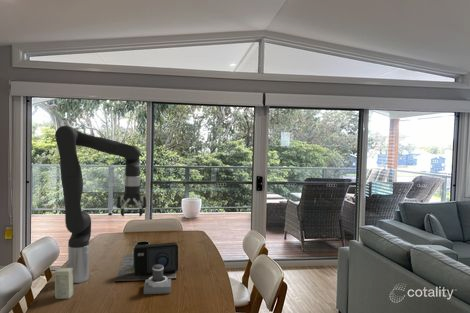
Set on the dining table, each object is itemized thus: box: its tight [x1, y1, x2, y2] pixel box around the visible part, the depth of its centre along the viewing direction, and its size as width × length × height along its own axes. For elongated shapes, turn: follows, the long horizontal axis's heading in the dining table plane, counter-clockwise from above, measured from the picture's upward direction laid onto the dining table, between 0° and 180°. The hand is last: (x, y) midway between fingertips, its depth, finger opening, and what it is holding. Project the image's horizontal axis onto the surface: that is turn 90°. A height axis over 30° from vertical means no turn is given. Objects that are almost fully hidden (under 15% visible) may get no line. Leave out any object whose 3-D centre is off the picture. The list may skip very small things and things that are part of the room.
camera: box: [133, 241, 179, 276], centre depth 180 cm, size 23×10×15 cm, turn 105°
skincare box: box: [54, 267, 74, 300], centre depth 152 cm, size 6×4×12 cm
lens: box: [152, 264, 164, 282], centre depth 162 cm, size 5×5×8 cm
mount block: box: [143, 275, 172, 295], centre depth 162 cm, size 12×9×5 cm
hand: (131, 216), depth 178 cm, fingers open, 8 cm apart
